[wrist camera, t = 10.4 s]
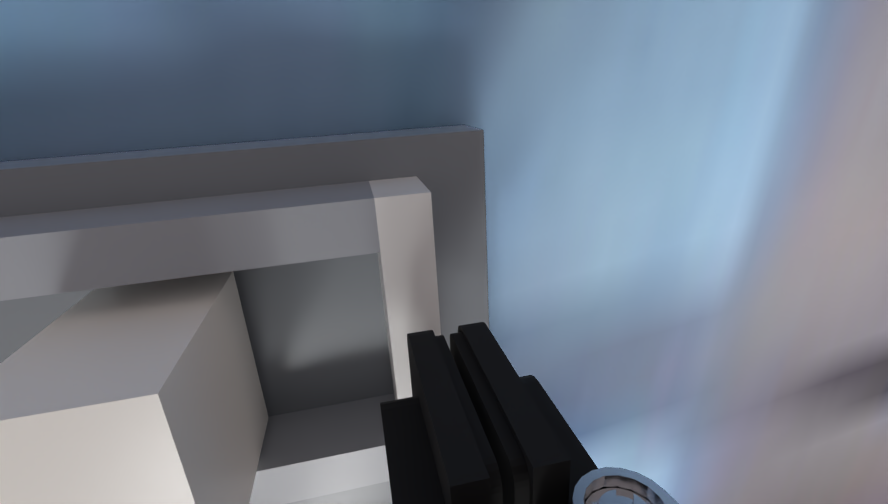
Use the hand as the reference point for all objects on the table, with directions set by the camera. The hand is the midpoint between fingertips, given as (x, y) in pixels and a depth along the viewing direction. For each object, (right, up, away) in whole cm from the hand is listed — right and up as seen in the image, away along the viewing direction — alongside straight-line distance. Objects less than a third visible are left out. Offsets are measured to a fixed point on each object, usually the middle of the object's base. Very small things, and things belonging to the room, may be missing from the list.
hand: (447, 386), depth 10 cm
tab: (-7, 0, +2) cm, 7 cm away
